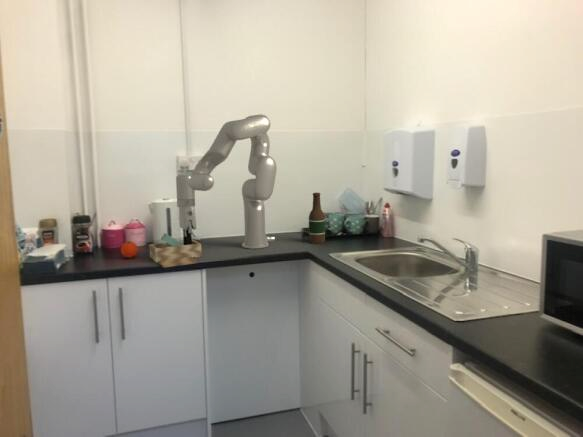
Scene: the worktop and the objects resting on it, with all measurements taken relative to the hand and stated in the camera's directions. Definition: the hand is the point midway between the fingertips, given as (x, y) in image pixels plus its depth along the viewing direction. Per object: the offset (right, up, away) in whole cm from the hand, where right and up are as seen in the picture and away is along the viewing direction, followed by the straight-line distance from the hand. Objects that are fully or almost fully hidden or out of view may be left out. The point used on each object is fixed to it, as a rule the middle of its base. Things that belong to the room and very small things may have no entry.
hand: (187, 245), depth 202 cm
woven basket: (-5, -5, -2) cm, 7 cm away
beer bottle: (+57, 0, +24) cm, 62 cm away
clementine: (-25, -5, -1) cm, 25 cm away
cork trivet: (-1, -7, -13) cm, 14 cm away
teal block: (-5, -1, -3) cm, 6 cm away
